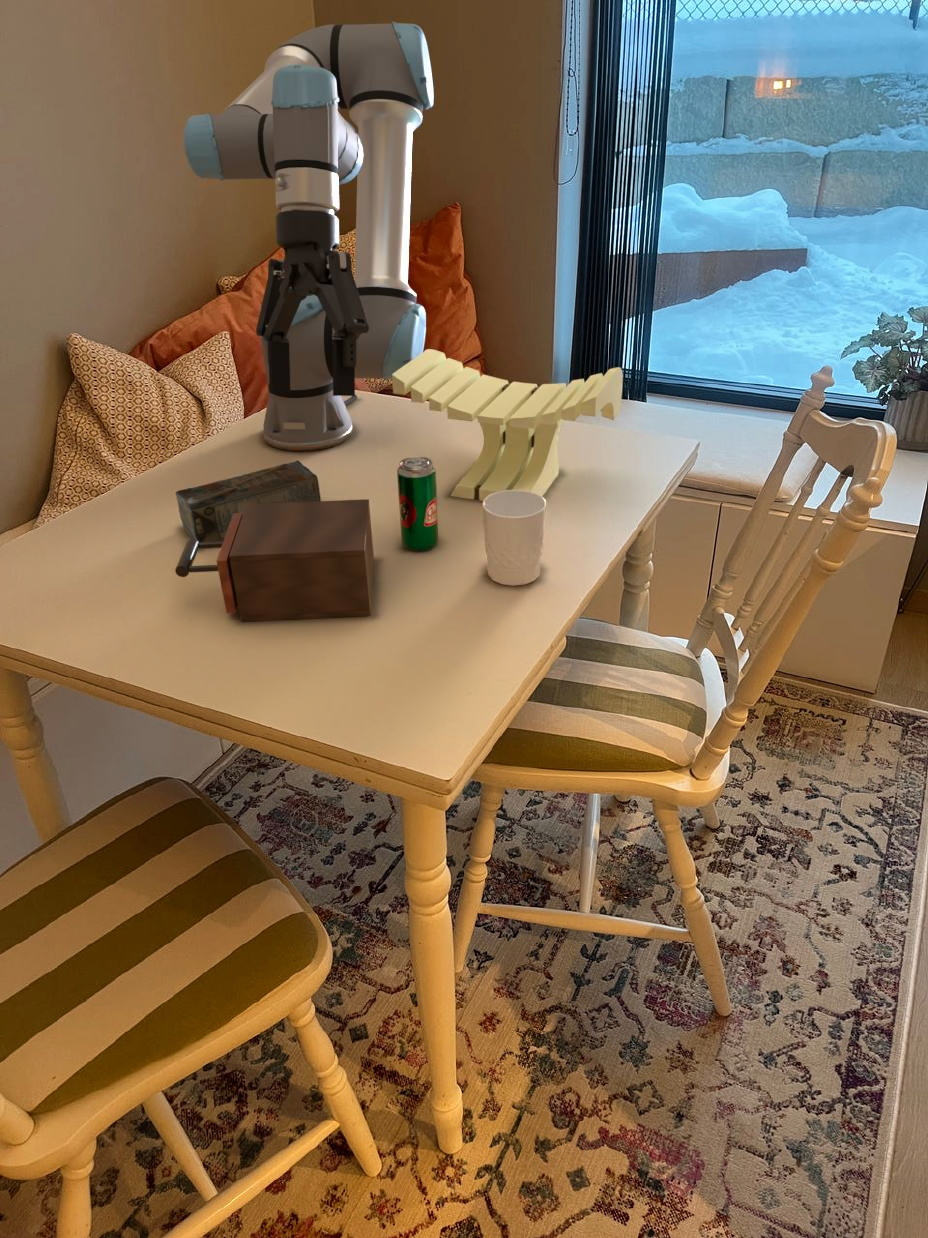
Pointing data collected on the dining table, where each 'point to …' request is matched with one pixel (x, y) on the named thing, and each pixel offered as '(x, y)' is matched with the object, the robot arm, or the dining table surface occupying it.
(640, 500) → the dining table surface
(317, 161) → the robot arm
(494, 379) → the slatted curved stool
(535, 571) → the white cup
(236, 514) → the drawer
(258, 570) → the cabinet
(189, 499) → the beverage carton
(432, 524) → the soda can
